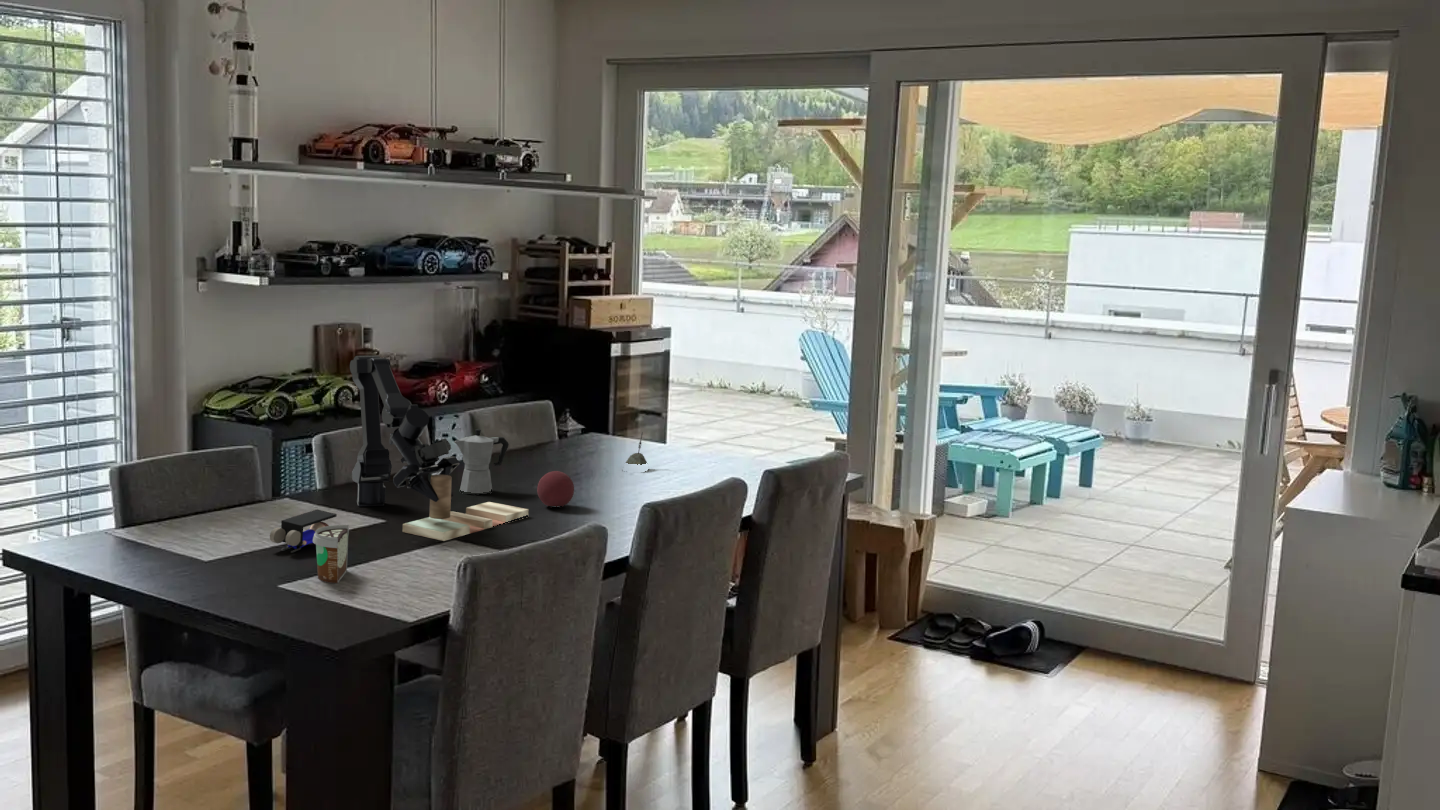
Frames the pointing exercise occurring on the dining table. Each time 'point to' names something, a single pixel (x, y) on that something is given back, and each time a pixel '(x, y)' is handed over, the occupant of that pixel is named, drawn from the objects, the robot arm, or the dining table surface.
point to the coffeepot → (479, 461)
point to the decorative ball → (555, 489)
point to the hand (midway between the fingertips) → (444, 499)
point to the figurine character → (300, 529)
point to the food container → (331, 552)
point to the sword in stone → (637, 457)
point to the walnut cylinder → (441, 497)
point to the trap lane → (465, 521)
